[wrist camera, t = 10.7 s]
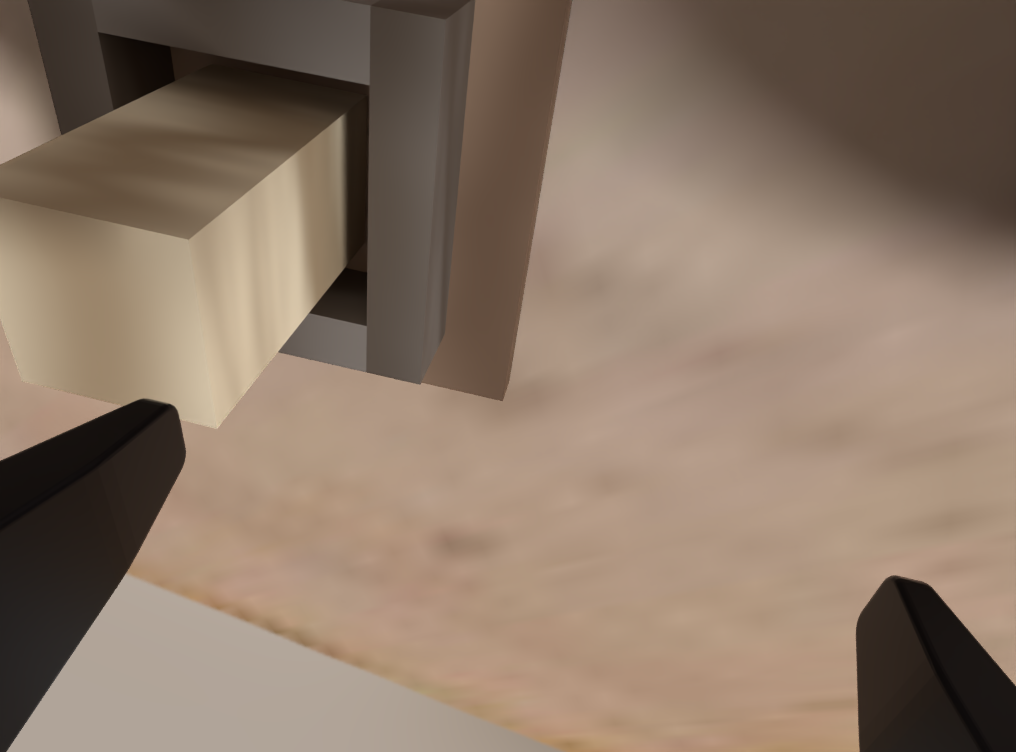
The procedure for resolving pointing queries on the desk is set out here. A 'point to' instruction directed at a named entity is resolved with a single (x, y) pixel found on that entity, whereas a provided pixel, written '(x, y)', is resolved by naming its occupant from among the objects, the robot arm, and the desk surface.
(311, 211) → the maple peg
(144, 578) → the desk surface
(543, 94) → the socket holder
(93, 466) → the robot arm
